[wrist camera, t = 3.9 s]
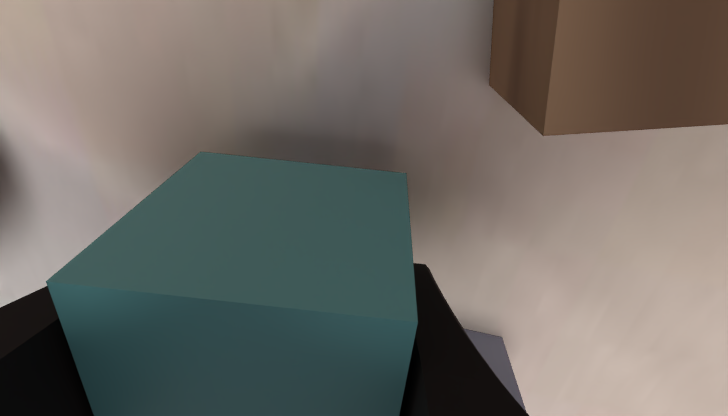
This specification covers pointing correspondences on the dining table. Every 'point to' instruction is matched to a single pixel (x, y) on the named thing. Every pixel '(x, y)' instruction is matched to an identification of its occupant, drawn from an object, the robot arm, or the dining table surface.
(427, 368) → the robot arm
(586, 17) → the walnut block
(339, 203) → the teal block
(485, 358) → the slate-blue block
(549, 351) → the dining table surface
